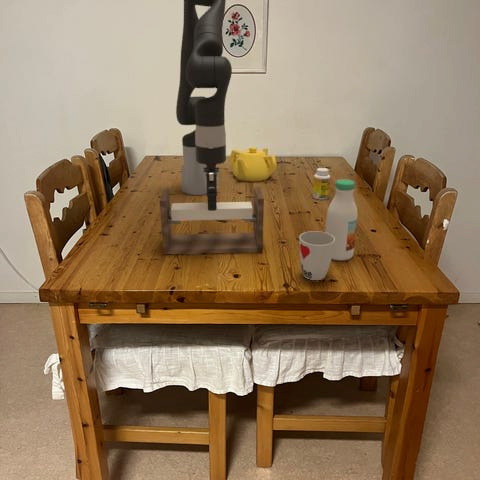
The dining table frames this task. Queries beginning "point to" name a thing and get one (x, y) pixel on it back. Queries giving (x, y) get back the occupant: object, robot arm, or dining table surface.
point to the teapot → (252, 164)
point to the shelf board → (202, 213)
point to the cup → (315, 253)
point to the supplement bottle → (321, 184)
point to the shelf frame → (214, 240)
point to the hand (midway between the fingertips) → (212, 204)
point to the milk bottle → (342, 220)
